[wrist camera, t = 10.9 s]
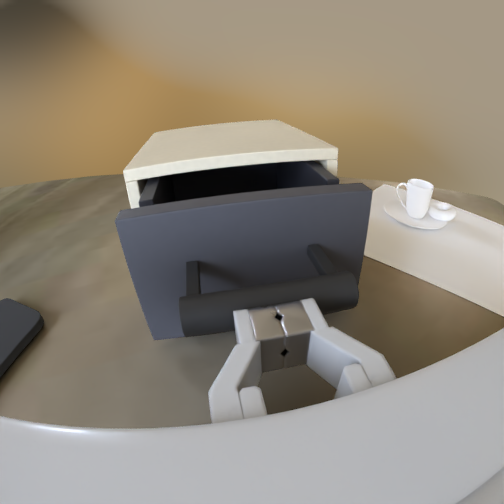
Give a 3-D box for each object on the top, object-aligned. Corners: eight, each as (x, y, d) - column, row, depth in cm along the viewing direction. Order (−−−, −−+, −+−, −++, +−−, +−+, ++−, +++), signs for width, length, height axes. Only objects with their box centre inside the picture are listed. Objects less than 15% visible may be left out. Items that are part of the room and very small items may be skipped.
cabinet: (329, 269, 23) (338, 147, 18) (154, 295, 21) (122, 170, 16) (279, 197, 36) (277, 119, 31) (166, 211, 35) (154, 132, 30)
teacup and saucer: (456, 218, 30) (463, 187, 28) (445, 243, 26) (454, 206, 23) (396, 197, 36) (399, 167, 33) (372, 216, 31) (376, 181, 29)
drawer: (384, 357, 14) (426, 229, 10) (151, 402, 13) (87, 276, 9) (289, 213, 30) (289, 137, 26) (166, 229, 29) (152, 151, 25)
